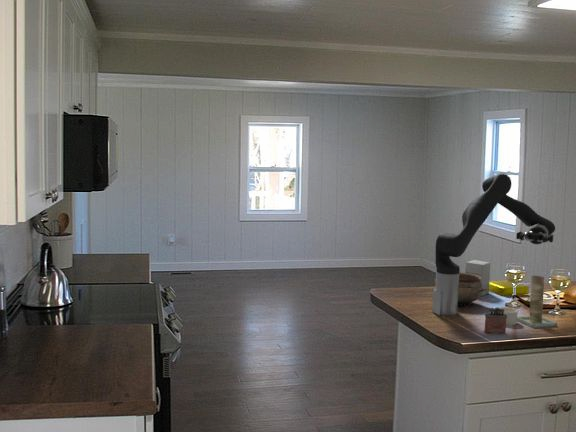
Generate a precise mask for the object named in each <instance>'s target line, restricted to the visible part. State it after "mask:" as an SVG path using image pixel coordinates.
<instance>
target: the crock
mask: <svg viewBox="0 0 576 432" xmlns="http://www.w3.org/2000/svg"><path fill="white" fill-rule="evenodd" d="M498 308H499V309H504V314H506V315H507V318H506V326H513V325H517V324H518V321H517V317H518V312H519V310H518V309H515V308H513V307H506V306H498Z"/></svg>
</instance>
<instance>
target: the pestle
mask: <svg viewBox="0 0 576 432" xmlns="http://www.w3.org/2000/svg"><path fill="white" fill-rule="evenodd" d="M530 282H531V283H530V284H531V285H530V302H529V316H530V319H529V322H531V323H536V324H540V323H542V317H543V307H544V304H543V303H544V292H545V291H544V288H545V276H543V275H532V276H531V281H530Z"/></svg>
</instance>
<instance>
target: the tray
mask: <svg viewBox="0 0 576 432" xmlns="http://www.w3.org/2000/svg"><path fill="white" fill-rule="evenodd" d="M529 319H530V315H526V316H525V315H524V316H517V323H520V324H523V325H525V326H528V327H529V328H532V329H537V328H541V329H542V328H553V327H554V328H555V327H558V323H557V322H555V321H553V320H550V319H548V318H546V317H543V316H542V323H540V324H536V323H531V322H529Z"/></svg>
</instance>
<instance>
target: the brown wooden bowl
mask: <svg viewBox="0 0 576 432" xmlns="http://www.w3.org/2000/svg"><path fill="white" fill-rule="evenodd" d="M480 279H481V277H480V276H478V275H475V274H470V273H465V272H460V273H459V289H458V306H466V305H469V304H471V303H473V302H475V301H477V300H478V299H479V298H480V297H482V296H481V294H482V292H483V291H486V290H488V289H487V288H485V289H483V288H482V284H481V281H480ZM433 282H434V283H436V278H435V279H434V280H433Z"/></svg>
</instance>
